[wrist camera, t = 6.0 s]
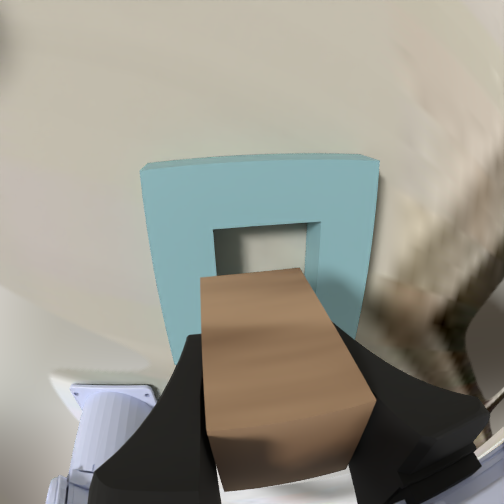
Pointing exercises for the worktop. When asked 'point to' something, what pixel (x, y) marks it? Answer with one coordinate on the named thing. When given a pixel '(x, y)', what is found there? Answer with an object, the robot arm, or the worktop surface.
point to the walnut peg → (277, 381)
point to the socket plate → (257, 214)
